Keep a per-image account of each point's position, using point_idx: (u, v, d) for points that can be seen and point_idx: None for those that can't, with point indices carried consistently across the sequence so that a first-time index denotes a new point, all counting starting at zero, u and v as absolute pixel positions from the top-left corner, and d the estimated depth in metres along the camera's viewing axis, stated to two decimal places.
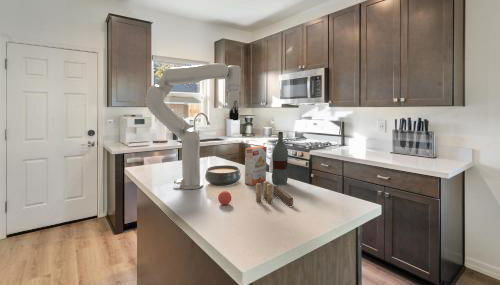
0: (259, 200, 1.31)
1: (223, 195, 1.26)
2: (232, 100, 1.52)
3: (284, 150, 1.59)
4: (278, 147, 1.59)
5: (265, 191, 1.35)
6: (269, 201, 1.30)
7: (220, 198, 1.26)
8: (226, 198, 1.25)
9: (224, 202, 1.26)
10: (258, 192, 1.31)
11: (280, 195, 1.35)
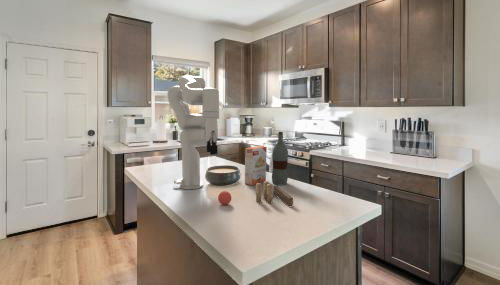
0: (259, 200, 1.31)
1: (223, 195, 1.26)
2: (209, 130, 1.24)
3: (284, 150, 1.59)
4: (278, 147, 1.59)
5: (265, 191, 1.35)
6: (269, 201, 1.30)
7: (220, 198, 1.26)
8: (226, 198, 1.25)
9: (224, 202, 1.26)
10: (258, 192, 1.31)
11: (280, 195, 1.35)
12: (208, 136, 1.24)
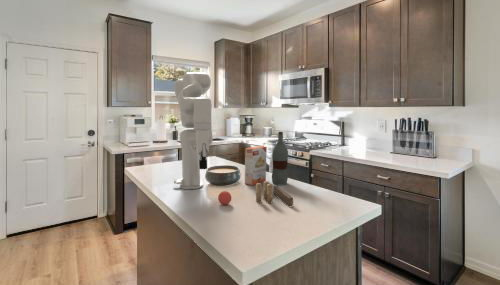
0: (259, 200, 1.31)
1: (223, 195, 1.26)
2: (199, 143, 1.17)
3: (284, 150, 1.59)
4: (278, 147, 1.59)
5: (265, 191, 1.35)
6: (269, 201, 1.30)
7: (220, 198, 1.26)
8: (226, 198, 1.25)
9: (224, 202, 1.26)
10: (258, 192, 1.31)
11: (280, 195, 1.35)
12: (198, 149, 1.18)
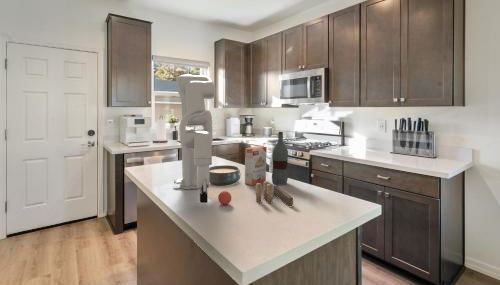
0: (259, 200, 1.31)
1: (223, 195, 1.26)
2: (200, 178, 1.19)
3: (284, 150, 1.59)
4: (278, 147, 1.59)
5: (265, 191, 1.35)
6: (269, 201, 1.30)
7: (220, 198, 1.26)
8: (226, 198, 1.25)
9: (224, 202, 1.26)
10: (258, 192, 1.31)
11: (280, 195, 1.35)
12: (199, 184, 1.19)
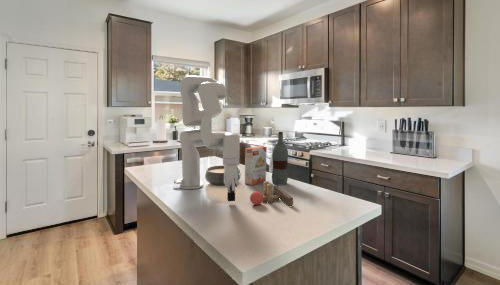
0: (263, 200, 1.32)
1: None
2: (229, 178, 1.22)
3: (284, 150, 1.59)
4: (278, 147, 1.59)
5: (265, 191, 1.35)
6: (269, 201, 1.30)
7: None
8: (254, 203, 1.26)
9: (259, 203, 1.26)
10: None
11: (280, 195, 1.35)
12: (228, 183, 1.23)
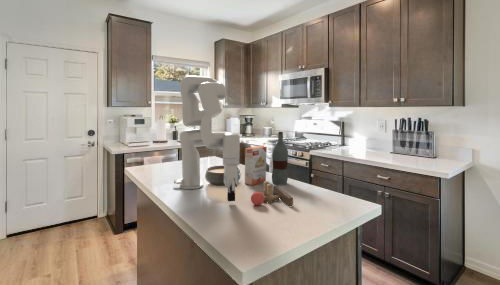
0: None
1: (253, 203, 1.28)
2: (229, 178, 1.22)
3: (284, 150, 1.59)
4: (278, 147, 1.59)
5: (265, 191, 1.35)
6: (269, 201, 1.30)
7: None
8: (254, 204, 1.26)
9: (259, 204, 1.26)
10: None
11: (280, 195, 1.35)
12: (228, 183, 1.23)
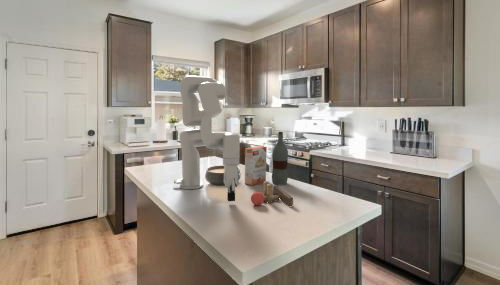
0: (264, 200, 1.32)
1: (253, 203, 1.28)
2: (229, 178, 1.22)
3: (284, 150, 1.59)
4: (278, 147, 1.59)
5: (265, 191, 1.35)
6: (269, 201, 1.30)
7: None
8: (254, 204, 1.26)
9: (259, 204, 1.26)
10: None
11: (280, 195, 1.35)
12: (228, 183, 1.23)
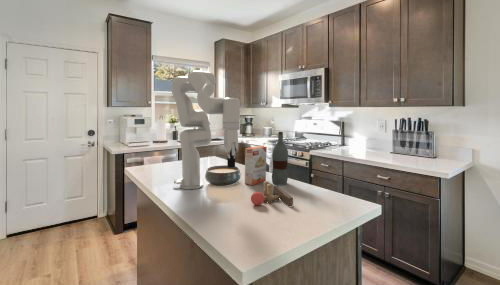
0: None
1: (253, 203, 1.28)
2: (229, 142, 1.20)
3: (284, 150, 1.59)
4: (278, 147, 1.59)
5: (265, 191, 1.35)
6: (269, 201, 1.30)
7: None
8: (254, 204, 1.26)
9: (259, 204, 1.26)
10: None
11: (280, 195, 1.35)
12: (228, 148, 1.21)
